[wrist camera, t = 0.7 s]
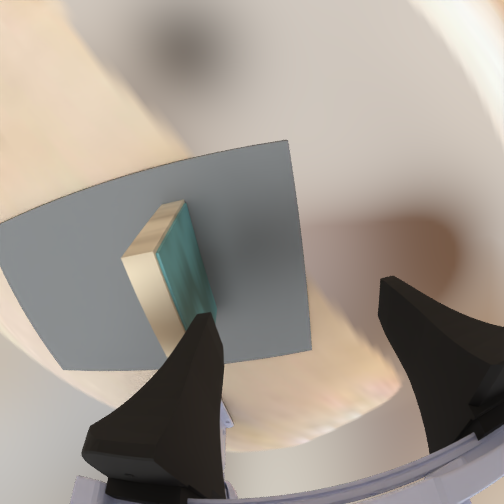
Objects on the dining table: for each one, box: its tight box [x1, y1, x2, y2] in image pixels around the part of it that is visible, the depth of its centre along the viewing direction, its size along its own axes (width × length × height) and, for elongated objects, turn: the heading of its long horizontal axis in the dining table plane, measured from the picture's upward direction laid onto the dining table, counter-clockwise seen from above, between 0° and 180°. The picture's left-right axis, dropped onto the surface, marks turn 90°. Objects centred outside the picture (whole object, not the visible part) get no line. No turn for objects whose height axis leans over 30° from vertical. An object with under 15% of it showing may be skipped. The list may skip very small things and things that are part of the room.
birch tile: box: [121, 200, 217, 358], centre depth 17 cm, size 9×2×8 cm, turn 10°
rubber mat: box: [0, 140, 312, 371], centre depth 22 cm, size 18×28×1 cm, turn 100°
